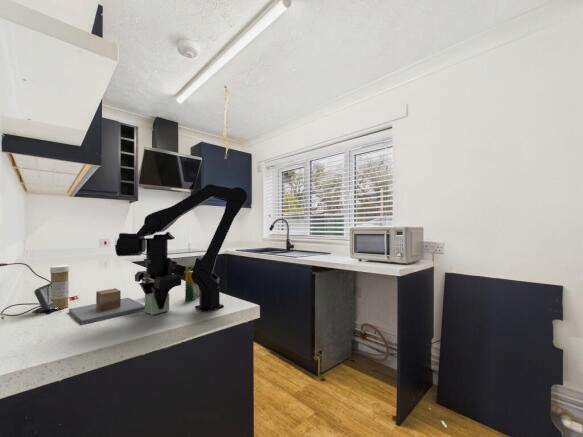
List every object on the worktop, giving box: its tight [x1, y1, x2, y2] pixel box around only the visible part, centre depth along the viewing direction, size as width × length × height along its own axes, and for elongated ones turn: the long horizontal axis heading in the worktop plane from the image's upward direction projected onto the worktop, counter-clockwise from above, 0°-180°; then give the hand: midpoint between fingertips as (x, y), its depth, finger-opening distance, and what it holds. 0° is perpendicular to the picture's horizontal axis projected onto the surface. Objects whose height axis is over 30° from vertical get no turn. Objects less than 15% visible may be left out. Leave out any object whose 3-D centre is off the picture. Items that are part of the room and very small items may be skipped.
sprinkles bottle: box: [49, 264, 70, 310], centre depth 85 cm, size 5×5×13 cm
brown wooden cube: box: [95, 287, 122, 311], centre depth 81 cm, size 5×5×5 cm
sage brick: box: [144, 292, 170, 316], centre depth 79 cm, size 5×5×5 cm
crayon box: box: [184, 263, 199, 302], centre depth 95 cm, size 7×3×12 cm, turn 179°
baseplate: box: [68, 297, 145, 325], centre depth 81 cm, size 16×16×1 cm
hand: (157, 307), depth 79 cm, fingers closed on sage brick, 5 cm apart
